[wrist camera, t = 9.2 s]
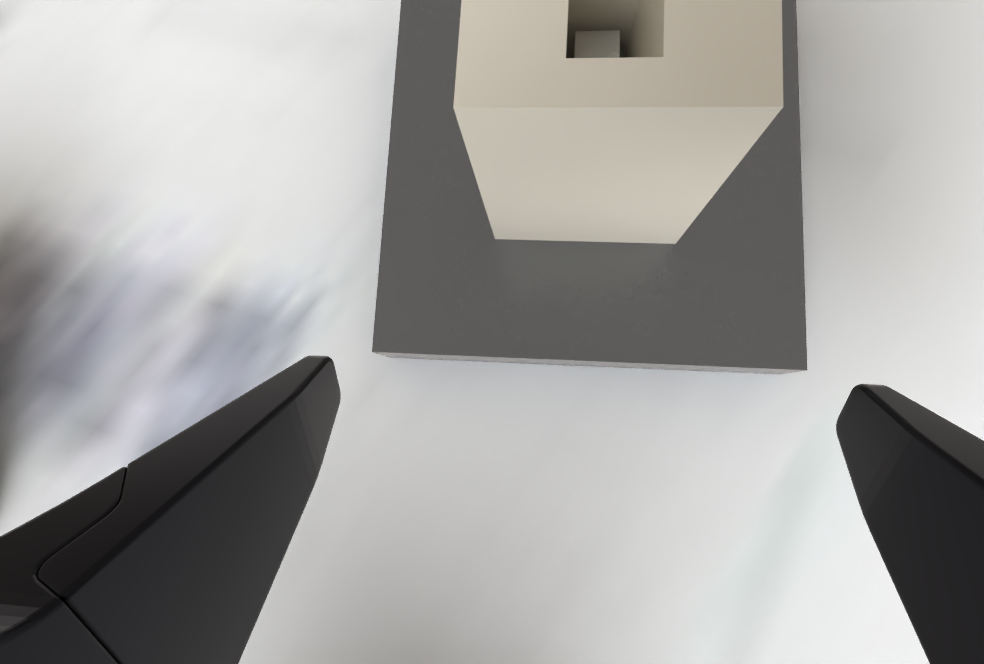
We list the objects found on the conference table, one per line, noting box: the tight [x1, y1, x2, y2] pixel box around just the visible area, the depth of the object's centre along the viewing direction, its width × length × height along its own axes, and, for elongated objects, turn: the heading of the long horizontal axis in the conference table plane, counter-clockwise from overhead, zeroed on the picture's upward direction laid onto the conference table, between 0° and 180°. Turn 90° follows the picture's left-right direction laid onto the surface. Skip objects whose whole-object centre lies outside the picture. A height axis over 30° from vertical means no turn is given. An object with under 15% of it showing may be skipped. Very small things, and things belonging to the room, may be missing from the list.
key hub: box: [372, 0, 807, 374], centre depth 17 cm, size 14×14×6 cm
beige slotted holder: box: [453, 0, 783, 244], centre depth 14 cm, size 6×6×8 cm
